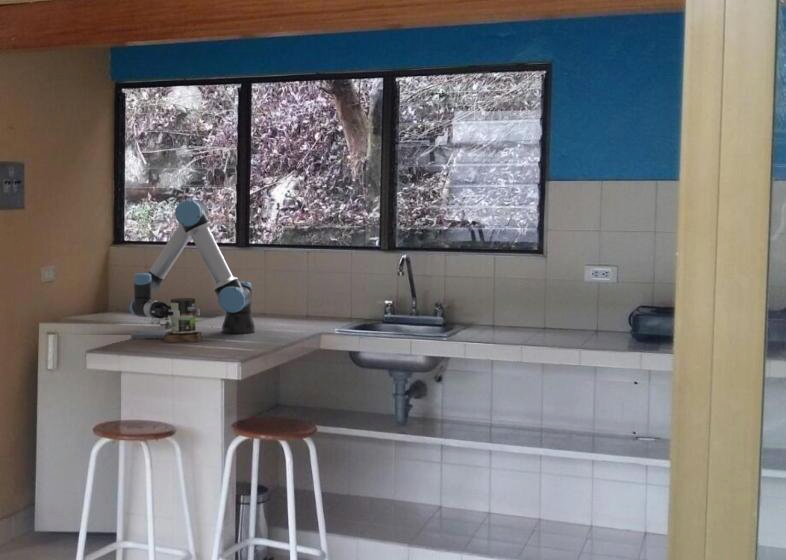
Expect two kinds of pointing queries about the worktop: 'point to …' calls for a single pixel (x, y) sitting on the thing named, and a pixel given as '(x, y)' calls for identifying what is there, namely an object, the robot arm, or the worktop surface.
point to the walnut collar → (182, 337)
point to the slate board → (147, 335)
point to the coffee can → (183, 315)
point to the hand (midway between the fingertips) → (189, 313)
